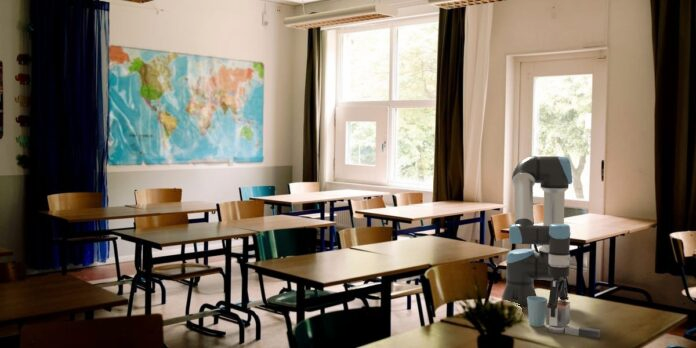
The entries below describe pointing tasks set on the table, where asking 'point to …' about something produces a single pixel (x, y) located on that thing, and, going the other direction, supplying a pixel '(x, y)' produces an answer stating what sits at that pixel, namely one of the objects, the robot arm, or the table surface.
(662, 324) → the table surface
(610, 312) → the table surface
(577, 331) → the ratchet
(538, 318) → the cup
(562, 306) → the red-topped grey block
